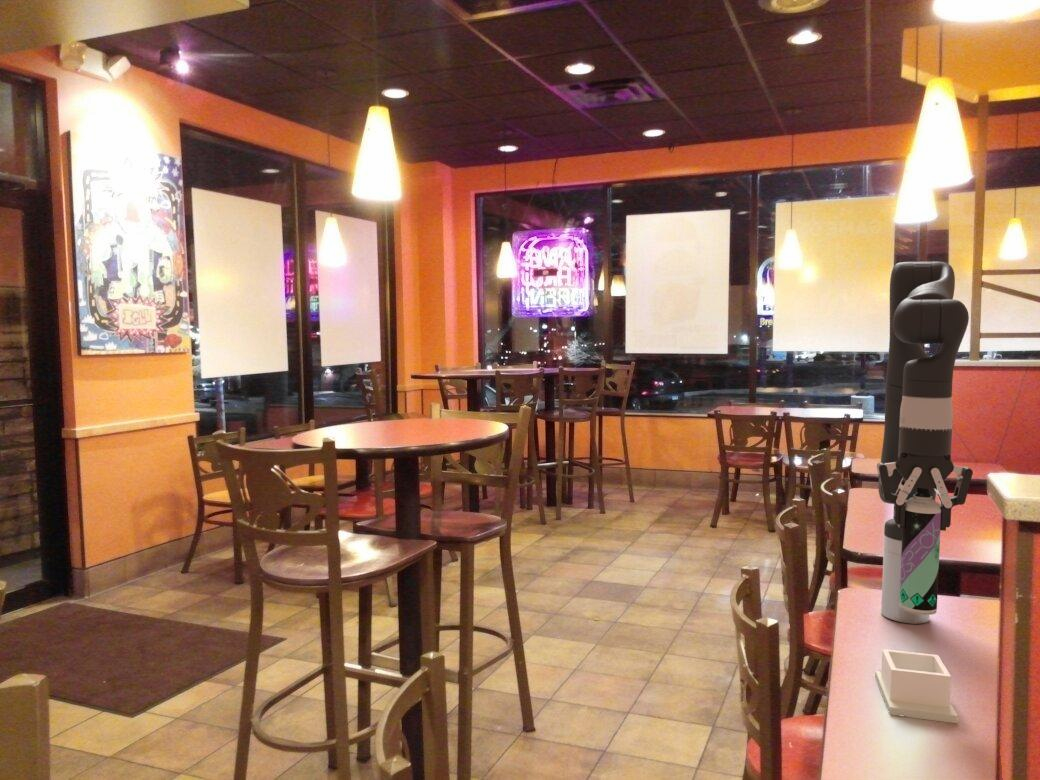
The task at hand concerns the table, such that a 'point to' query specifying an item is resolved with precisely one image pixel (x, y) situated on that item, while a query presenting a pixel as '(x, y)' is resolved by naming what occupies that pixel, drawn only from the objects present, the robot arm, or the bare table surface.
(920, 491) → the spray can
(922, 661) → the can holder
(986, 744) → the table surface
